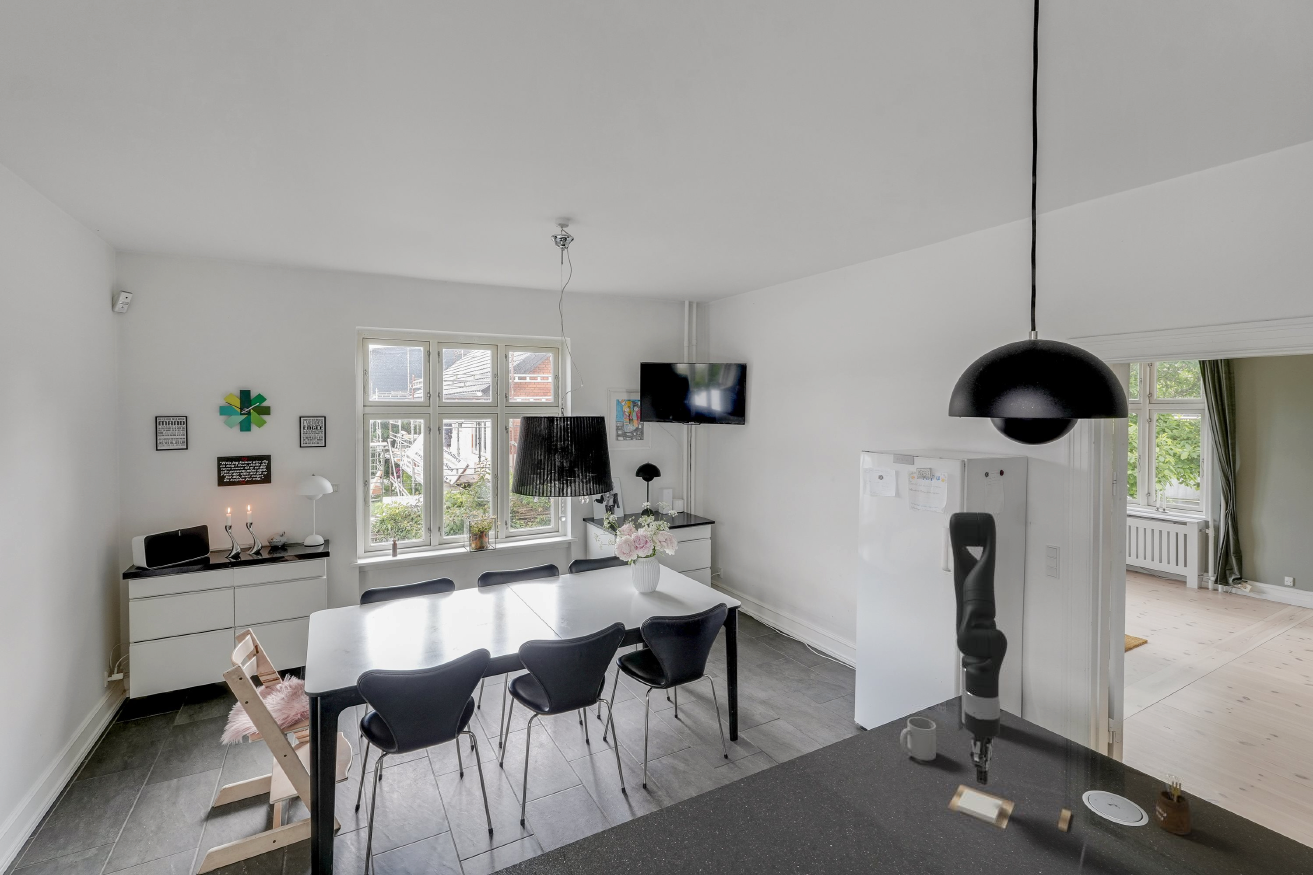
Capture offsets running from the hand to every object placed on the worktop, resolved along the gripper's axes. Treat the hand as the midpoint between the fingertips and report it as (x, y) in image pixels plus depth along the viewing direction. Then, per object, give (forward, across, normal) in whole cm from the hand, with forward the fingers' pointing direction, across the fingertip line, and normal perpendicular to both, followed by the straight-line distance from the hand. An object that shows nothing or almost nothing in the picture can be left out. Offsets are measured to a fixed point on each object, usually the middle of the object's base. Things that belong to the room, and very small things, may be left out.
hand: (982, 782), depth 145 cm
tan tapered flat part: (+6, -2, +16) cm, 17 cm away
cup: (+6, -13, -19) cm, 24 cm away
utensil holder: (+6, -18, +35) cm, 40 cm away
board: (+6, +1, 0) cm, 6 cm away
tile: (+4, -2, 0) cm, 5 cm away
